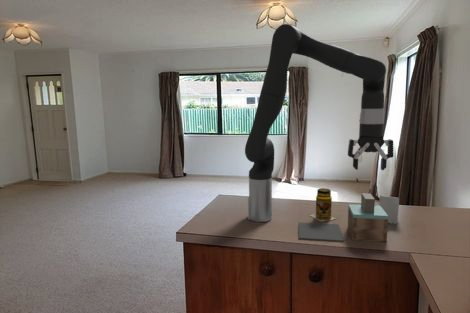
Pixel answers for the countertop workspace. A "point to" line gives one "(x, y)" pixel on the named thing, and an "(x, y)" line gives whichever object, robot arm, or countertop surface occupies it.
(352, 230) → the storage box
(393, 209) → the grey rectangular block
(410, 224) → the countertop surface
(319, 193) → the condiment
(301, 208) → the countertop surface
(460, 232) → the countertop surface
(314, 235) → the mat
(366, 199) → the lid
